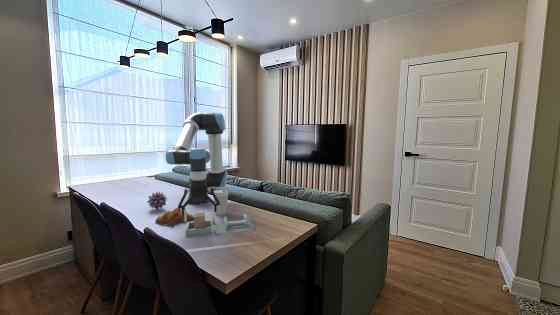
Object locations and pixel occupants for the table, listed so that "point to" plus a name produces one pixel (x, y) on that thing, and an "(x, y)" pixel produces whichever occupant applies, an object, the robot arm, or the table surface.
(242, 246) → the table surface
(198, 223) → the jaw block
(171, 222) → the pastry
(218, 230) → the housing
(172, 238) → the table surface
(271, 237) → the table surface
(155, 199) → the spiky ball
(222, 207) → the coffee cup
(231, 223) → the gate
